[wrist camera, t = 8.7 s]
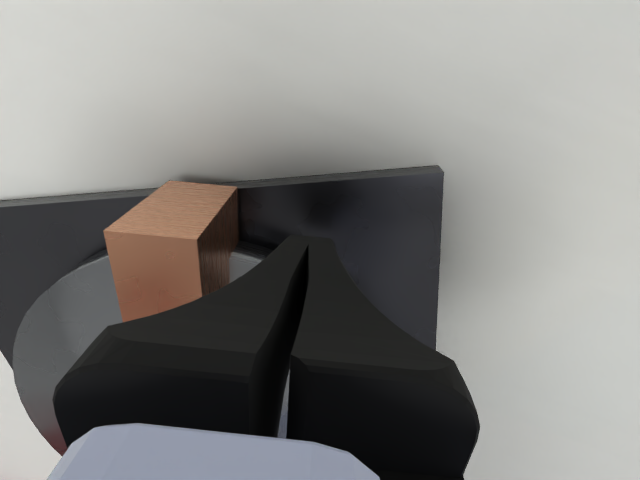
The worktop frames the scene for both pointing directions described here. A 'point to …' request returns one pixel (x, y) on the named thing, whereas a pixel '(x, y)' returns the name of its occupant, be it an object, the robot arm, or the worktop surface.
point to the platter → (132, 286)
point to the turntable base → (254, 237)
